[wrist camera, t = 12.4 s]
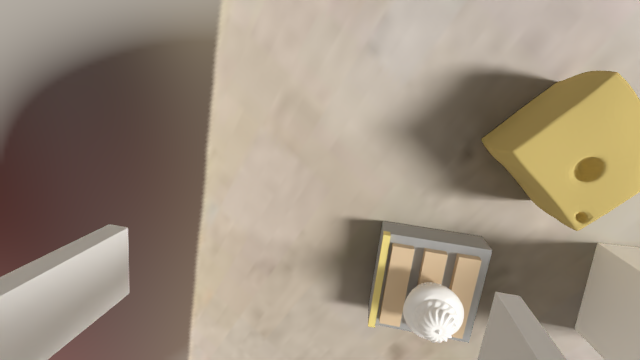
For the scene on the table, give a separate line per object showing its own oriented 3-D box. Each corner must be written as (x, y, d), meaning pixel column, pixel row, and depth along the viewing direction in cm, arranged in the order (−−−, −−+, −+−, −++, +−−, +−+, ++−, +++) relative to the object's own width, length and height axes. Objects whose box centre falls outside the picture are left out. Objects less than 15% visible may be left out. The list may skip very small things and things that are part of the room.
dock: (382, 220, 44) (383, 236, 40) (481, 236, 43) (495, 254, 38) (368, 304, 47) (368, 328, 43) (461, 321, 46) (471, 348, 41)
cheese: (616, 147, 39) (696, 164, 29) (528, 206, 42) (574, 239, 32) (558, 73, 38) (621, 65, 28) (472, 139, 41) (503, 152, 31)
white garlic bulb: (415, 260, 40) (423, 294, 33) (466, 283, 39) (485, 322, 33) (391, 304, 41) (395, 345, 35) (440, 326, 41) (453, 372, 34)
